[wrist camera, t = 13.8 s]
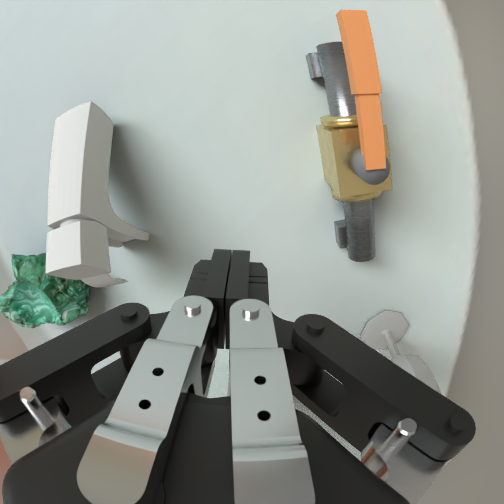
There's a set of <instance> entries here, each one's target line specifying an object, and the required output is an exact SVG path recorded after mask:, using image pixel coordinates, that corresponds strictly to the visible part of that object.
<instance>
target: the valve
mask: <svg viewBox="0 0 504 504" xmlns="http://www.w3.org/2000/svg"><path fill="white" fill-rule="evenodd" d="M316 48H317V53H309V54H307V55H306V59H307V64H308V68H309V73H310V77H311V79H313V78H322V77H323V79H324V83H325V88H326V93H327V98H328V104H329V109H330V115H328V116H323V117H321V118H320V119H321V124H322V125H319V126H316V128H317V134H318V139H319V145H320V151H321V157H322V164H323V170H324V177H325V180H326V181H327V183H328V184H329V185H330V186H331V188H332V195H333V198H334V199H336V200H339V201H343V204H344V214H345V220H340V221H335V222H334V224H335V233H336V242H337V244H338V246H339V248H345V247H348V257H349V258H350V259H351V260H353V261H357V262H365V261H369V260H371V259H373V258H374V257H375V232H374V215H373V199H375V198H377V197H379V196H380V195H381V194H382V191H387V190H392V178H391V165H390V173H389V175H388V177H387V179H386V180H385V181H384V182H382V183H380V184H377V185H371V184H368V183H366V182H365V181H364V180H362V179H361V178H360V177H359V176H357V175H356V174H355V173H354V172H353V171H352V169H351V166H350V158H351V155H352V153H353V152H354V151H355V150H356V149H358V148H360V137H359V128H358V120H357V112H356V104H355V97H354V94H351V89H350V83H349V76H348V71H347V65H346V59H345V54H344V49H343V44H342V42H330V43H325V44H320V45H318V46H316ZM383 133H384V144H385V156H386V157H387V158H388V160H389V163H390V155H389V145H388V136H387V128H386V125H383Z"/></svg>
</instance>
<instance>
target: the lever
mask: <svg viewBox="0 0 504 504" xmlns="http://www.w3.org/2000/svg"><path fill="white" fill-rule="evenodd" d="M336 16H337V21H338V25H339V30H340V34H341V39H342V44H343V49H344V54H345V59H346V65H347V71H348V76H349V83H350V89H351V94H354V97H355V104H356V112H357V120H358V128H359V137H360V148H358V149H356V150H355V151H354V152H353V153H352V155H351V158H350V166H351V169H352V171H353V172H354V173H355V174H356V175H357V176H359V177H360V178H361V179H362V180H364V181H365V182H366V183H368V184H371V185H377V184H380V183H382V182H384V181H385V180H386V179H387V177H388V175H389V173H390V163H389V160H388V158H387V157H386V156H385V144H384V133H383V122H382V113H381V105H380V97H379V93H382V91H381V84H380V77H379V71H378V65H377V59H376V54H375V48H374V43H373V38H372V34H371V29H370V25H369V20H368V16H367V12H366V11H364V10H340V11H339V12H338V13H337V14H336Z"/></svg>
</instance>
